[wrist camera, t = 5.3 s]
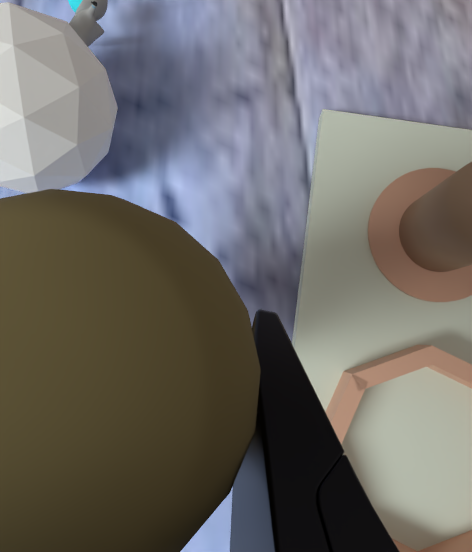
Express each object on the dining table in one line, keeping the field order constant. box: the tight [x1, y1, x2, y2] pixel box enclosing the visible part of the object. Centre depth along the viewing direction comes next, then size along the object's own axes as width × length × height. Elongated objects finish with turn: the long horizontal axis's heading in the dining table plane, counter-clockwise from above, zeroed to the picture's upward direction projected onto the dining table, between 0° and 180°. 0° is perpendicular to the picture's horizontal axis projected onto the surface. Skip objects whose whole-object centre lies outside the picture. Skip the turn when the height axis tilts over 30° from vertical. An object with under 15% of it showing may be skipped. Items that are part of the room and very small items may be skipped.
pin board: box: [292, 109, 472, 552], centre depth 19 cm, size 23×13×6 cm, turn 172°
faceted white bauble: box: [0, 0, 118, 193], centre depth 20 cm, size 8×8×12 cm
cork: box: [0, 189, 261, 552], centre depth 10 cm, size 6×6×11 cm
